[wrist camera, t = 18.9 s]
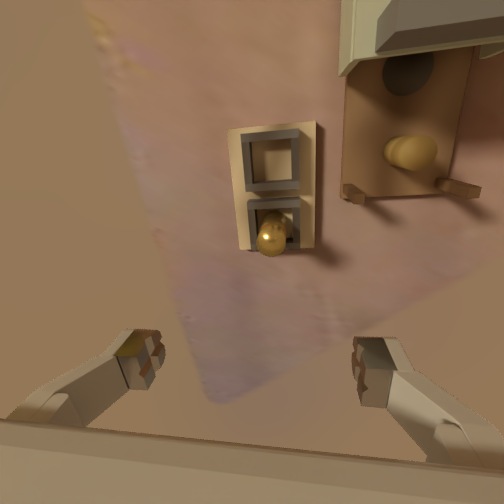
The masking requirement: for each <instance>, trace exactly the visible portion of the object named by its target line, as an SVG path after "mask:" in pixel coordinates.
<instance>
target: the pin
mask: <svg viewBox="0 0 504 504" xmlns="http://www.w3.org/2000/svg"><path fill="white" fill-rule="evenodd" d="M286 226H287V220H286V217H285V216H284V214H283V213H281V212H279V211H271V212H269V213H267V214H266V215H265V217H264V220H263V223H262V226H261V229H260V231H259V234H258V237H257V241H256V245H257V248H258V250H259V251H260V252H261V253H262V254H263V255H265V256H269V257H274V256H277V255H279V254H281V253H282V252H283V250H284V249H285V245H286Z"/></svg>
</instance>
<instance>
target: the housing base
mask: <svg viewBox="0 0 504 504" xmlns="http://www.w3.org/2000/svg"><path fill="white" fill-rule="evenodd" d="M473 50H474V46H468V47H460V48H453V49H445V50H438V51H430V52H423V53H415V54H407V55H400V56H392V57H385V58H377V59H370V60H362V61H359V62H358V64H357V65H356V66H355V67H354V68H353V69H352V70H351V71H350V72H349V73H348V75H347V76H346V84H345V104H344V124H343V145H342V165H341V185H340V198H341V199H347V198H348V199H349V200H350V201H351V202H352V203H353V204H364V201H365V198H366V197H385V196H404V195H423V194H442V193H444V191H446V192H449V193H452V194H455V195H458V196H460V197H463V198H466V199H471V198H479V196H480V192H481V188H482V187H479V186H476V185H472V184H468V183H464V182H460V181H457V180H453V179H449V178H447V176H448V172H449V167H450V162H451V157H452V152H453V147H454V142H455V138H456V133H457V128H458V123H459V118H460V113H461V108H462V104H463V99H464V94H465V89H466V84H467V79H468V74H469V70H470V65H471V60H472V55H473Z"/></svg>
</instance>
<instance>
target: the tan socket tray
mask: <svg viewBox="0 0 504 504" xmlns="http://www.w3.org/2000/svg"><path fill="white" fill-rule="evenodd" d="M227 137H228V147H229V156H230V165H231V174H232V183H233V192H234V201H235V210H236V219H237V228H238V237H239V246H240V250H246V249H251V251H254V250H258V248H257V245H256V241H257V237H258V234H259V231H260V229H261V226H262V223H263V220H264V217H265V215H266V214H267V213H269V212H271V211H279V212H281V213H283V214H284V216H285V217H286V220H287V226H286V245H285V249H284V250H297V249H300V248H314V245H315V158H316V121H308V122H298V123H288V124H278V125H268V126H258V127H248V128H238V129H228V130H227Z"/></svg>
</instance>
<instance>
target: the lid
mask: <svg viewBox="0 0 504 504" xmlns="http://www.w3.org/2000/svg"><path fill="white" fill-rule="evenodd" d="M476 45H481V50H480V54H479V59H487V58H490V57H492V56H495V55H497V54H500V53H502V52H504V0H341V24H340V50H339V75H338V77H342V76H347V75H348V73H349V72H350V71H351V70H352V69H353V68H354V67H355V66H356V65H357V64H358V62H359V61H362V60H370V59H377V58H385V57H392V56H400V55H407V54H415V53H423V52H430V51H438V50H445V49H453V48H460V47H468V46H476ZM479 59H478V60H479Z"/></svg>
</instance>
